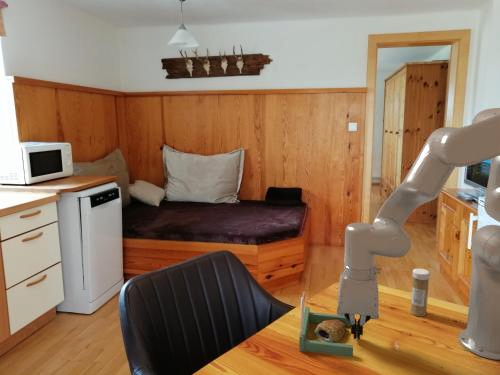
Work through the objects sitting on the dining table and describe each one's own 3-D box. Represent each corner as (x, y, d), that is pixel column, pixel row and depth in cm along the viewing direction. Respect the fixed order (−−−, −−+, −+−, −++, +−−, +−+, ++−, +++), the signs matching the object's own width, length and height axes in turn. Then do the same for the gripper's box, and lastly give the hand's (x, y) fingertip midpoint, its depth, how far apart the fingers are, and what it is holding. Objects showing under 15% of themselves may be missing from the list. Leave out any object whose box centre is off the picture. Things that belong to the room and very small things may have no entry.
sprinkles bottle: (429, 314, 116) (433, 271, 113) (420, 318, 113) (423, 275, 111) (415, 308, 120) (418, 266, 117) (406, 312, 117) (409, 270, 115)
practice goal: (351, 324, 111) (353, 278, 108) (352, 357, 96) (354, 305, 93) (305, 319, 114) (305, 274, 112) (299, 351, 99) (299, 300, 96)
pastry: (331, 323, 112) (331, 310, 112) (352, 331, 108) (352, 319, 107) (312, 336, 106) (312, 323, 105) (333, 346, 101) (334, 333, 100)
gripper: (388, 267, 101) (385, 332, 105) (329, 263, 105) (328, 326, 108) (391, 279, 94) (387, 348, 98) (328, 274, 98) (327, 341, 101)
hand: (356, 336), depth 103 cm, fingers closed
